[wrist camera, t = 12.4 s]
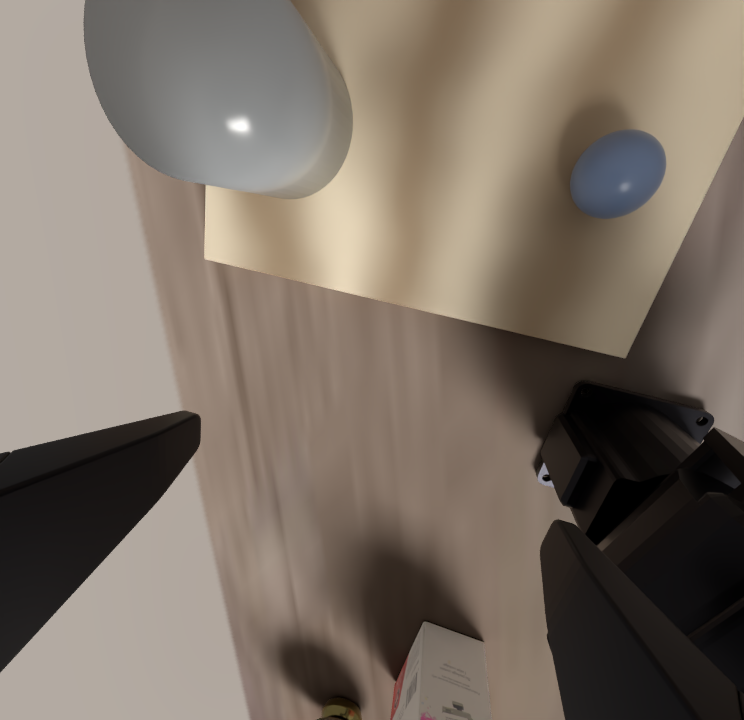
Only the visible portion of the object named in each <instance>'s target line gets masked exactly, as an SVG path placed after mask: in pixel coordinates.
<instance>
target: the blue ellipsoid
mask: <svg viewBox="0 0 744 720" xmlns="http://www.w3.org/2000/svg"><path fill="white" fill-rule="evenodd" d="M665 171H666V155H665V151H664V148H663V147H662V145H661V143H660V142H659V141H658V140H657V139H656V138H655V137H654V136H652V135H651V134H649V133H647V132H644V131H641V130H635V129H626V130H619V131H615V132H612V133H610V134H607V135H605V136H603V137H601V138H600V139H598V140H597V141H595V142H594V143H593V144H591V145H590V146H589V147H588V148H587V149H586V150H585V151H584V152H583V153H582V155H581V156H580V158H579V159H578V161H577V162H576V164H575V166H574V169H573V171H572V175H571V179H570V192H571V196H572V199H573V201H574V203H575V204H576V206H577V207H578V208H579V209H580V210H581V211H582V212H584V213H585V214H587V215H589V216H591V217H595V218H601V219H612V218H617V217H621V216H625V215H627V214H630V213H631V212H633V211H635V210H637V209H638V208H640V207H642V206H643V205H644V204H645V203H646V202H647V201H649V200H650V199H651V197H652V196H653V195H654V194H655V193H656V191H657V190H658V188H659V187H660V185H661V183H662V181H663V178H664V175H665Z"/></svg>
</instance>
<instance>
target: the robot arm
mask: <svg viewBox="0 0 744 720" xmlns="http://www.w3.org/2000/svg"><path fill="white" fill-rule="evenodd" d="M585 388H589V391H588V393H586V394H581V391H582V390H583V389H585ZM700 417H703V419H702V420H701V421H699V422H696V420H697V419H698V418H700ZM713 423H714V417H713V416H712V415H711V414H710V413H708V412H707V411H705V410H703V409H700V408H696V407H692V406H688V405H684V404H680V403H676V402H672V401H668V400H663V399H659V398H655V397H651V396H647V395H643V394H639V393H635V392H631V391H627V390H623V389H619V388H615V387H611V386H607V385H603V384H599V383H594V382H590V381H580V382H578V383H577V384H576V385H575V386H574V388H573V390H572V393H571V395H570V397H569V399H568V402H567V404H566V406H565V408H564V411H563V413H561V414H560V415H558V416H556V418H555V420H554V423H553V425H552V427H551V429H550V432H549V434H548V436H547V439H546V441H545V443H544V445H543V448H542V450H541V456H542V460H541V462H540V464H539V466H538V469H537V471H536V476H537V479H538V481H539V482H540V483H541V484H543V485H546V486H550V487H553V488H555V490H556V493H557V495H558V498H559V500H560V502H561V503H562V505H563V506H566V507H570V509H571V511H572V514H573V516H574V518H575V521H576V523H577V525H578V527H577V526H576V525H574V524H572V523H569V522H566V521H562V520H555V521H553V523H552V524H551V526H550V528H549V530H548V532H547V534H546V536H545V538H544V540H543V542H542V545H541V548H540V561H541V571H542V582H543V593H544V604H545V614H546V622H547V629H548V634H547V640H548V643H549V646H550V649H551V652H552V655H553V660H554V665H555V670H556V675H557V680H558V685H559V690H560V695H561V700H562V705H563V711H564V716H565V720H744V442H743V441H741V440H739V439H737V438H735V437H733V436H731V435H729V434H727V433H725V432H723V431H721V430H719V429H717V428H715V427H714V428H713V429H712V430H710V428H711V427H712V425H713ZM709 430H710V431H709ZM708 431H709V432H708ZM200 438H201V418H200V416H199V415H198V414H196V413H192V412H189V411H179V412H175V413H171V414H167V415H162V416H158V417H154V418H149V419H146V420H141V421H137V422H133V423H129V424H124V425H120V426H116V427H111V428H107V429H103V430H98V431H94V432H90V433H86V434H81V435H77V436H73V437H69V438H65V439H61V440H56V441H52V442H47V443H43V444H39V445H35V446H30V447H27V448H22V449H18V450H14V451H12V452H11V453H10V452H4V453H0V672H1V671H2V670H3V669H4V668H5V667H6V666H7V664H9V663H10V662H11V660H12V659H13V658H14V657H15V656H16V655H17V654H18V653H19V652H20V651H21V650H22V648H23V647H24V646H25V645H26V644H27V643H28V642H29V641H30V640H31V639H32V637H33V636H34V635H35V634H36V633H37V632H38V631H39V630H40V629H41V628H42V627H43V625H45V623H46V622H47V621H48V620H49V619H50V618H51V617H52V616H53V615H54V613H56V611H57V610H58V609H59V608H60V607H61V606H62V605H63V604H64V603H65V602H66V600H68V598H69V597H70V596H71V595H72V594H73V593H74V592H75V591H76V590H77V588H79V586H80V585H81V584H82V583H83V582H84V581H85V580H86V579H87V578H88V577H89V576H90V575H91V573H92V572H93V571H94V570H95V569H96V568H97V567H98V566H99V565H100V564H101V563H102V561H103V560H104V559H105V558H106V557H107V556H108V555H109V554H110V553H111V552H112V551H113V549H114V548H115V547H116V546H117V545H118V544H119V543H120V542H121V541H122V540H123V539H124V538H125V536H126V535H127V534H128V533H129V532H130V531H131V530H132V529H133V528H134V527H135V526H136V524H137V523H138V522H139V521H140V520H141V519H142V518H143V517H144V516H145V515H146V514H147V513H148V511H149V510H150V509H151V508H152V507H153V506H154V505H155V504H156V503H157V501H158V500H159V499H160V498H161V497H162V495H163V494H164V493H165V492H166V491H167V489H168V488H169V487H170V485H171V484H172V483H173V481H174V480H175V479H176V477H177V476H178V475H179V473H180V472H181V471H182V469H183V468H184V466H185V465H186V464H187V463H188V461H189V460H190V459H191V457H192V456H193V455H194V454H195V452H196V451H197V449H198V447H199V445H200ZM703 439H704V442H703V443H702V444H701V442H702V441H703ZM700 444H701V445H700ZM545 474H549V476H548V477H542V476H543V475H545Z"/></svg>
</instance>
